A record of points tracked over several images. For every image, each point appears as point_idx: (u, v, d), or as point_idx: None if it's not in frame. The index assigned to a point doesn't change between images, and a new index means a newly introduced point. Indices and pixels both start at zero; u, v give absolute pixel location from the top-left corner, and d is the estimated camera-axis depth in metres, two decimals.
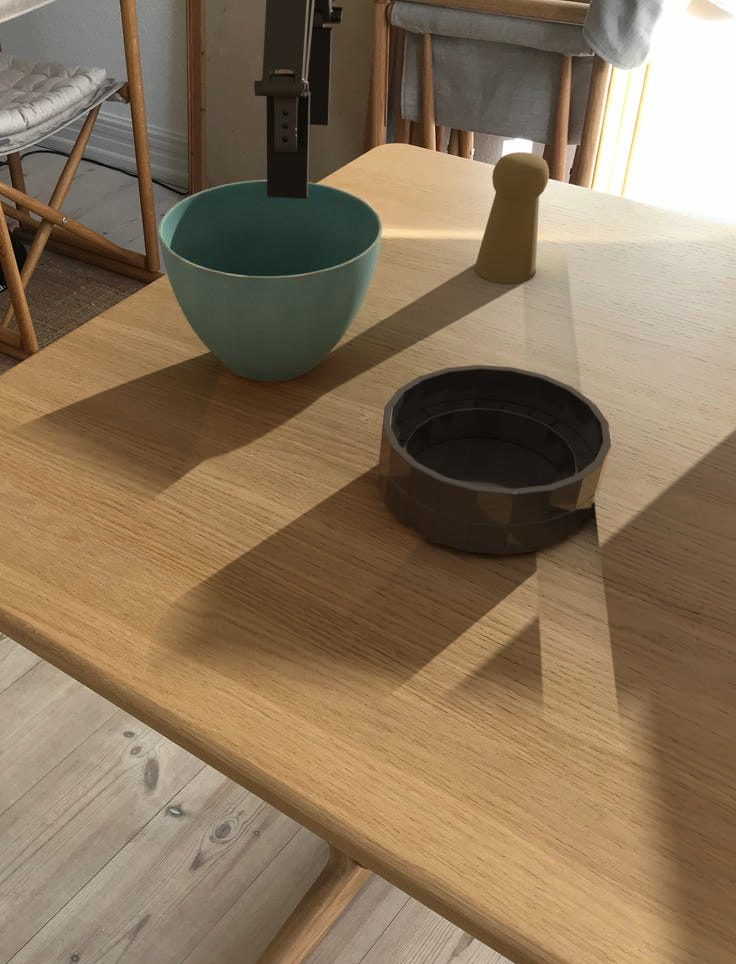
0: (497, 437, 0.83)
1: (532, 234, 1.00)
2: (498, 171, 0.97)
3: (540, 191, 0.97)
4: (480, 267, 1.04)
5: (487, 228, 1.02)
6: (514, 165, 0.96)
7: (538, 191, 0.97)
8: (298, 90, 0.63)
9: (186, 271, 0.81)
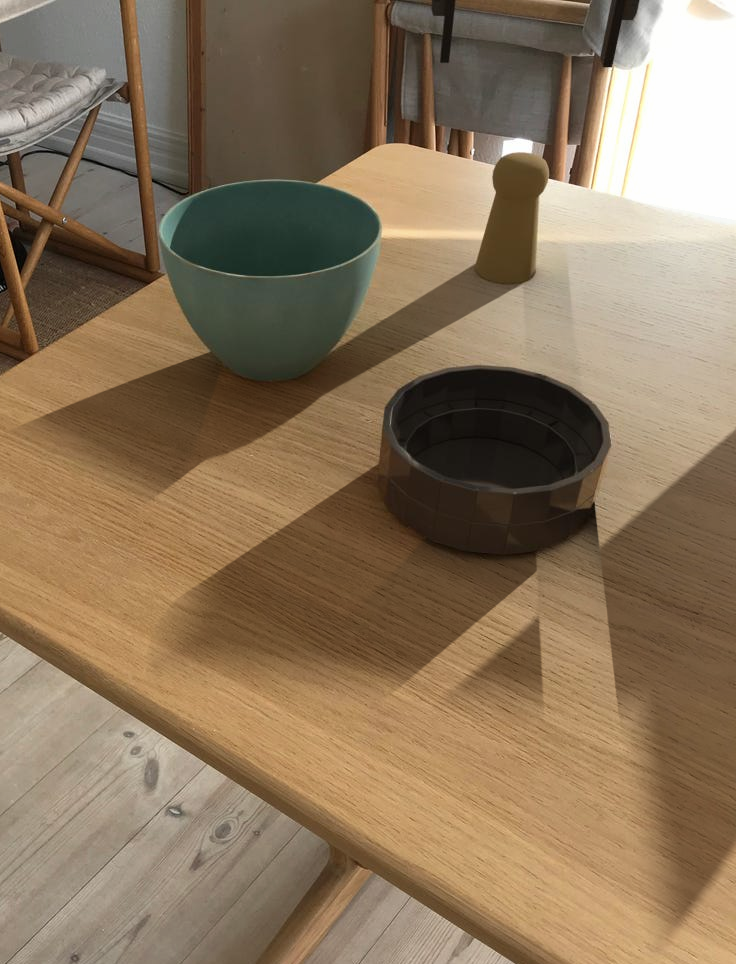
0: (497, 437, 0.83)
1: (532, 234, 1.00)
2: (498, 171, 0.97)
3: (540, 191, 0.97)
4: (480, 267, 1.04)
5: (487, 228, 1.02)
6: (514, 165, 0.96)
7: (538, 191, 0.97)
8: None
9: (186, 271, 0.81)
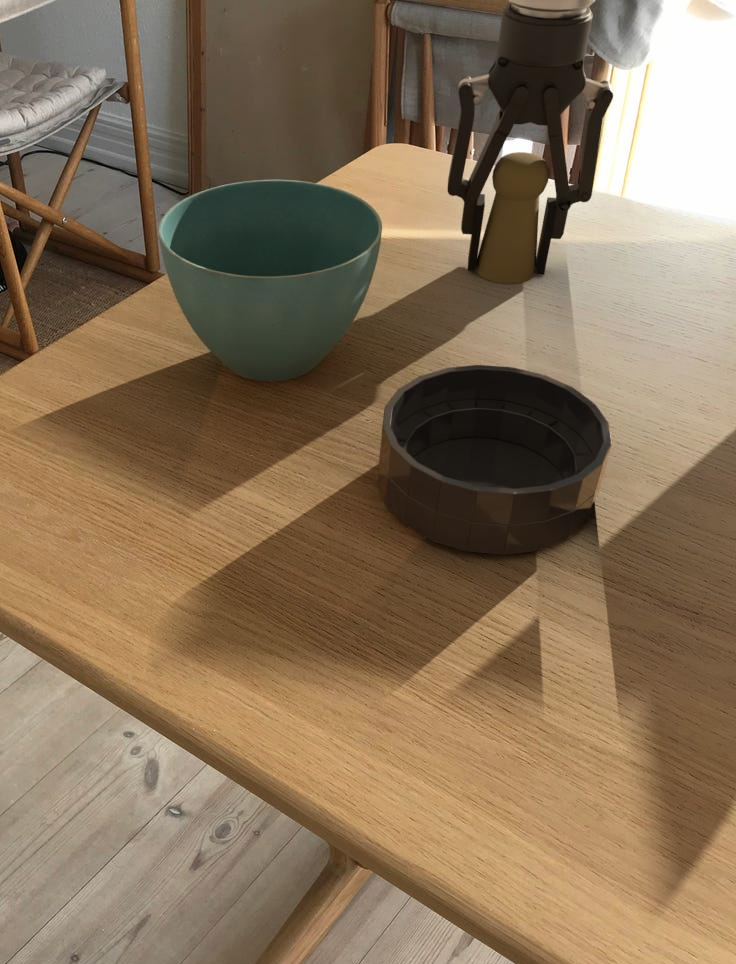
0: (497, 437, 0.83)
1: (532, 234, 1.00)
2: (498, 171, 0.97)
3: (540, 191, 0.97)
4: (480, 267, 1.04)
5: (487, 228, 1.02)
6: (514, 165, 0.96)
7: (538, 191, 0.97)
8: None
9: (186, 271, 0.81)
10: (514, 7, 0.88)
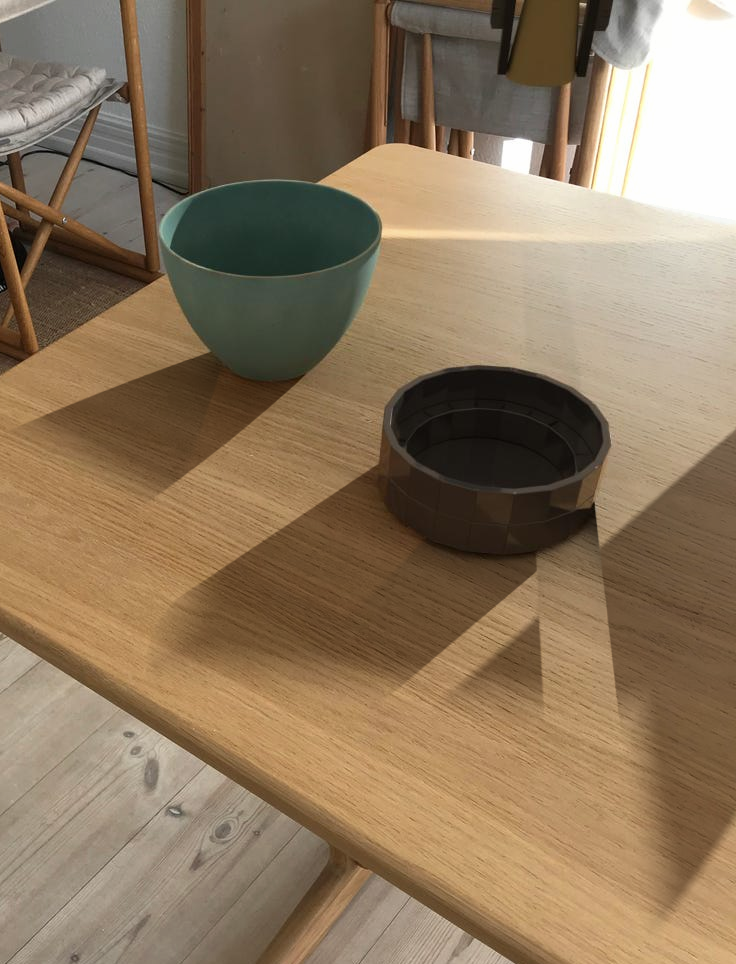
0: (497, 437, 0.83)
1: (573, 25, 0.87)
2: None
3: None
4: (512, 70, 0.90)
5: (520, 21, 0.88)
6: None
7: None
8: None
9: (186, 271, 0.81)
10: None
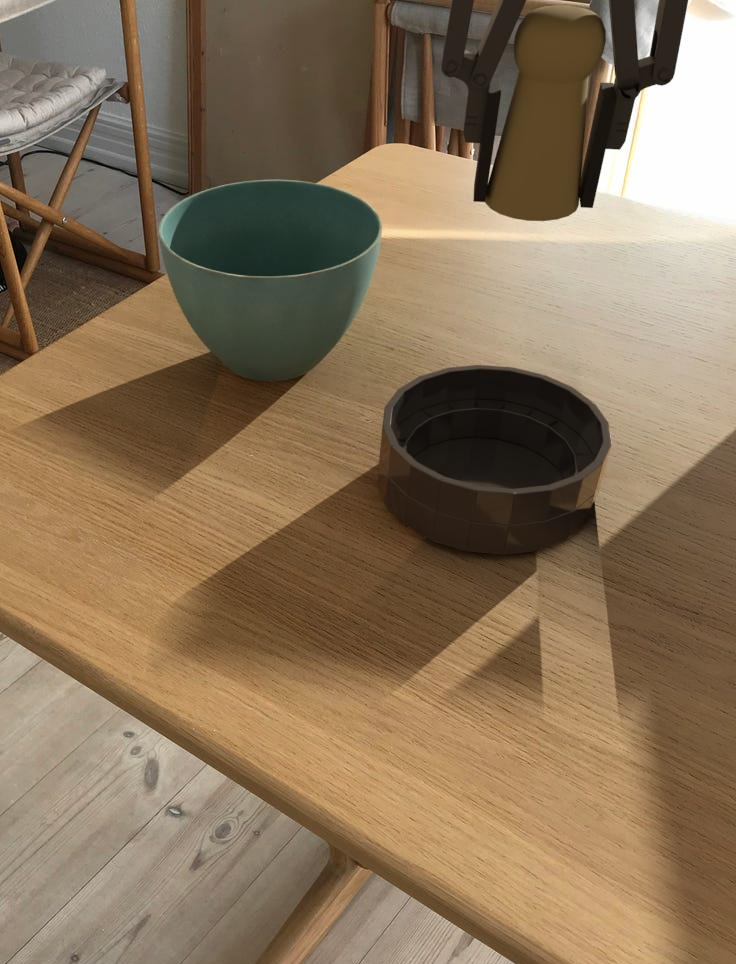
0: (497, 437, 0.83)
1: (576, 141, 0.63)
2: (523, 33, 0.60)
3: (592, 67, 0.60)
4: (493, 196, 0.66)
5: (504, 132, 0.64)
6: (550, 21, 0.59)
7: (589, 65, 0.60)
8: None
9: (186, 271, 0.81)
10: None
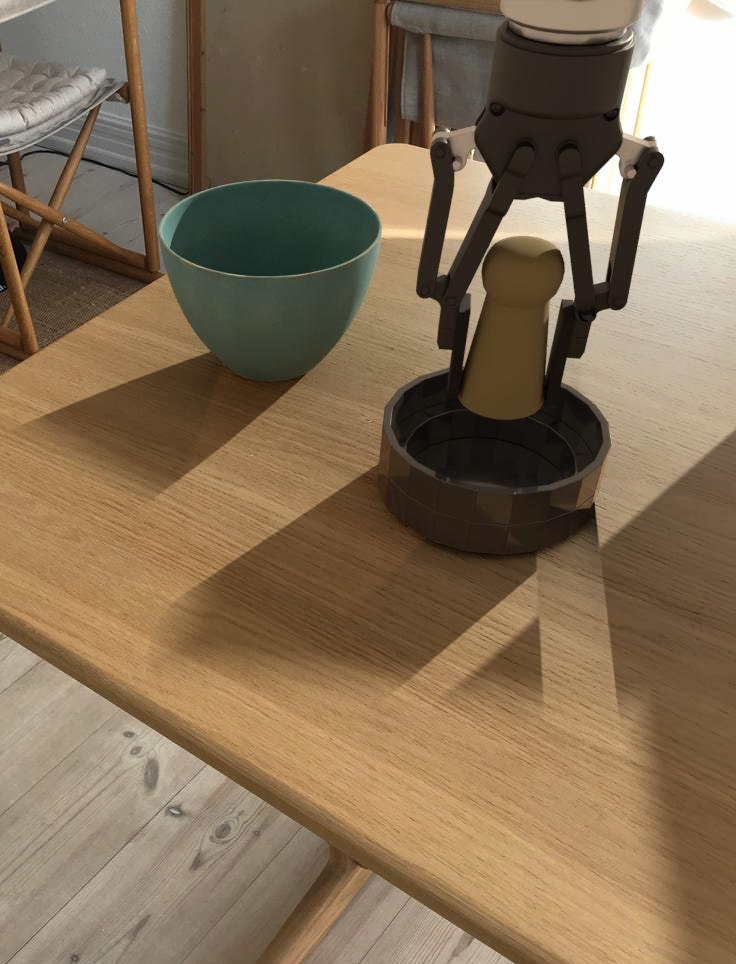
0: (497, 437, 0.83)
1: (540, 353, 0.69)
2: (490, 266, 0.66)
3: (552, 295, 0.66)
4: (464, 394, 0.72)
5: (474, 342, 0.70)
6: (513, 258, 0.65)
7: (549, 294, 0.66)
8: None
9: (186, 271, 0.81)
10: (514, 26, 0.56)
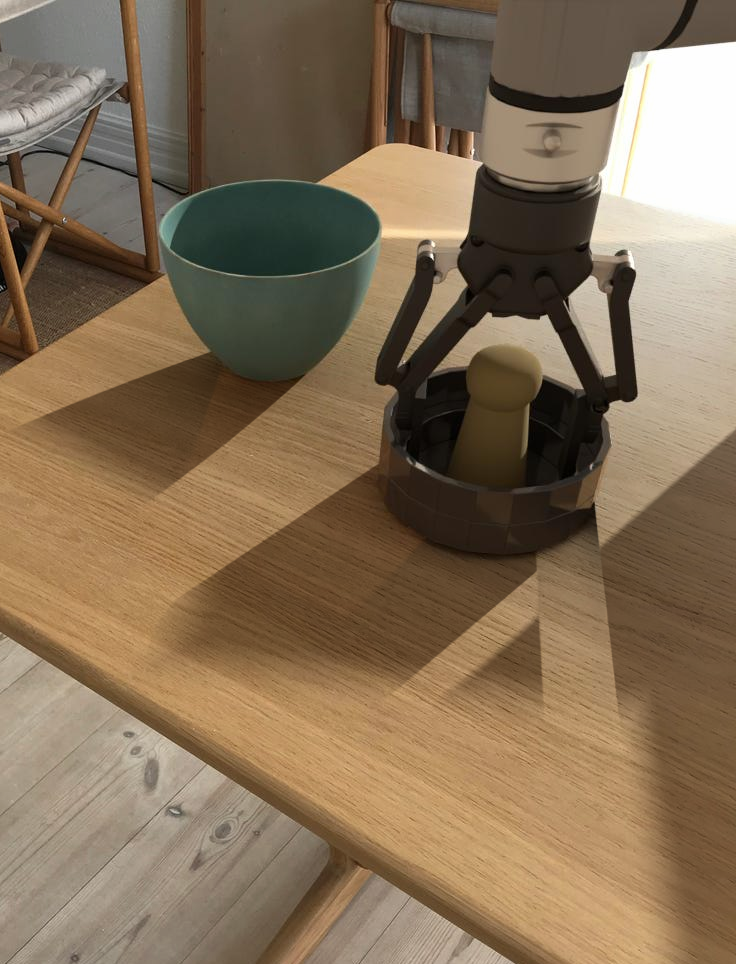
0: None
1: (520, 450, 0.75)
2: (473, 374, 0.71)
3: (531, 400, 0.72)
4: None
5: (460, 438, 0.76)
6: (495, 368, 0.70)
7: (528, 400, 0.71)
8: None
9: (186, 271, 0.81)
10: (491, 172, 0.62)
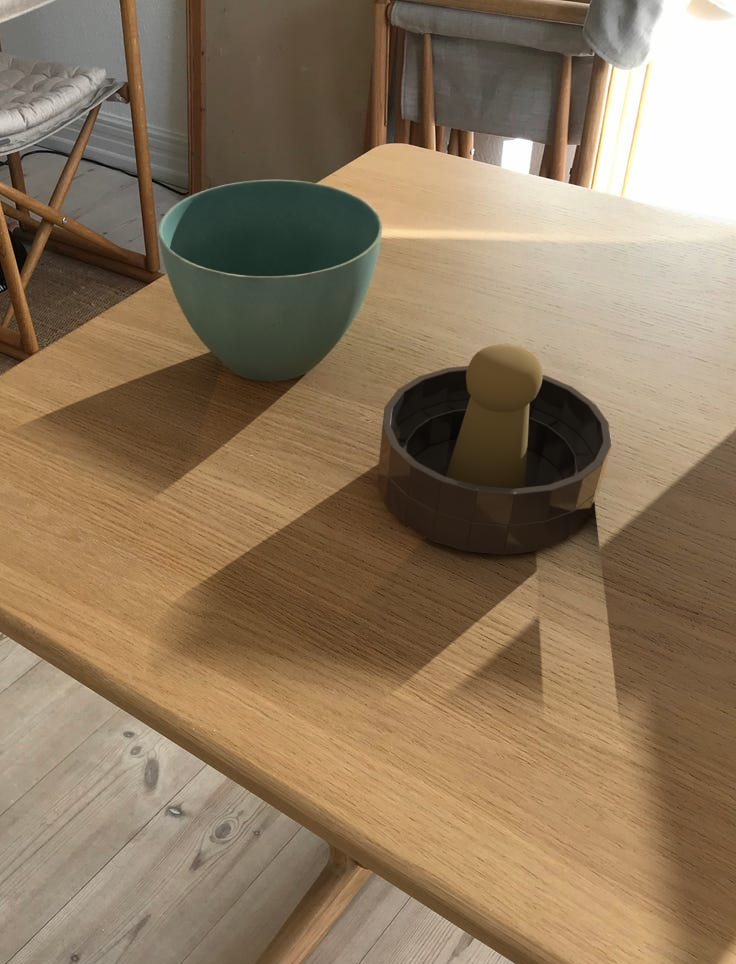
0: None
1: (520, 450, 0.75)
2: (473, 374, 0.71)
3: (531, 400, 0.72)
4: None
5: (460, 438, 0.76)
6: (495, 368, 0.70)
7: (528, 400, 0.71)
8: None
9: (186, 271, 0.81)
10: None
